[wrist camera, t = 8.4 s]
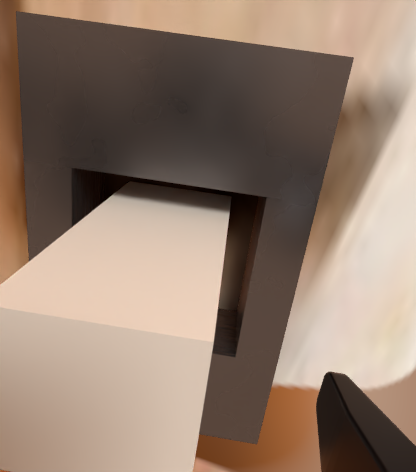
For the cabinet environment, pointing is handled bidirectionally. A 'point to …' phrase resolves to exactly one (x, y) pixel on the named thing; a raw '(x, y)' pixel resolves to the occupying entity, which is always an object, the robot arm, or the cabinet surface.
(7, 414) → the square peg
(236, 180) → the square hole rail
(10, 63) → the cabinet surface
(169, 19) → the cabinet surface
